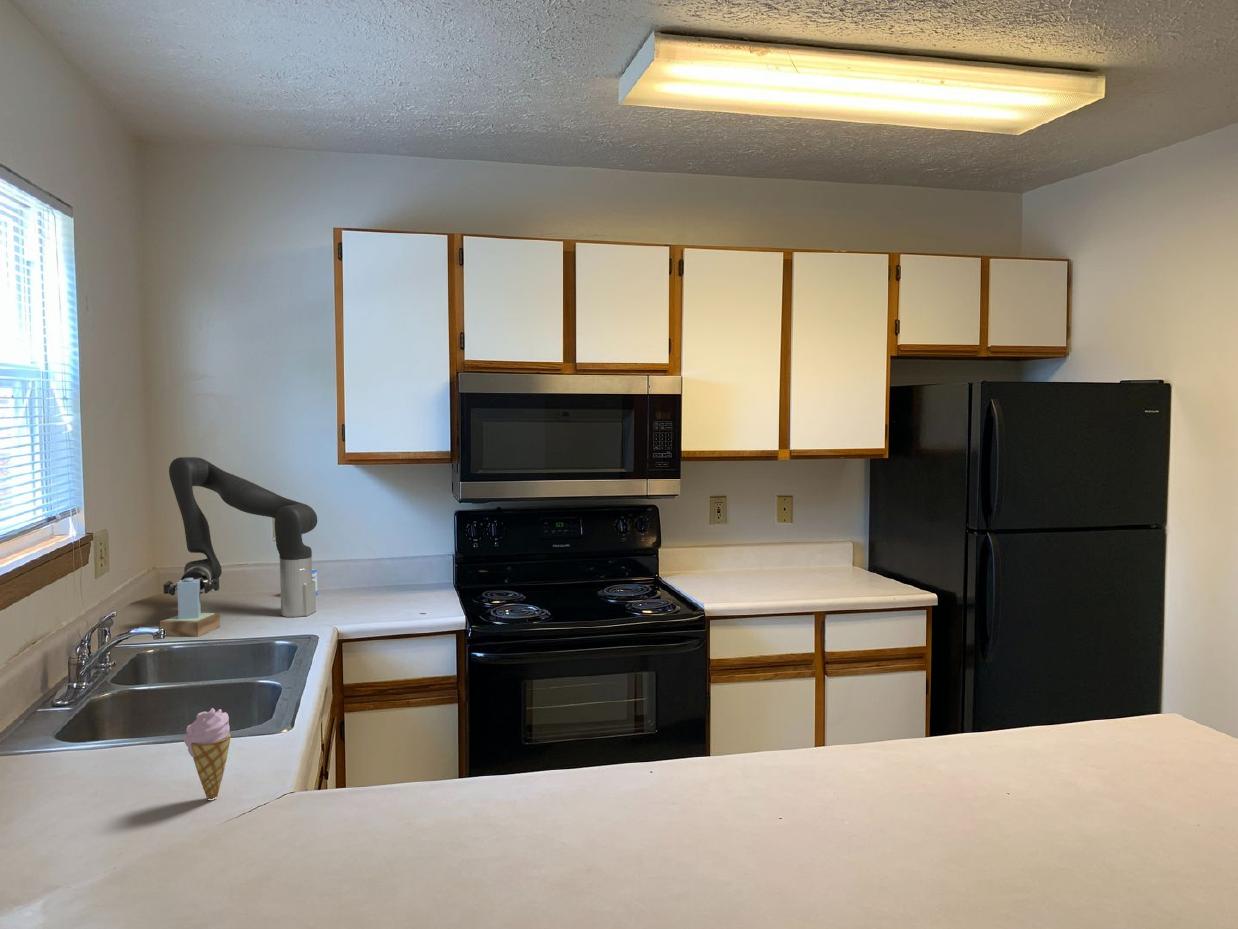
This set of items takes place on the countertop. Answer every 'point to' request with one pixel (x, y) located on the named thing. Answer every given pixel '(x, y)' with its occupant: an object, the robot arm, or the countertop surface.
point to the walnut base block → (191, 625)
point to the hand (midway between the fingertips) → (189, 590)
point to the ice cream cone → (209, 748)
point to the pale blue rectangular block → (189, 598)
